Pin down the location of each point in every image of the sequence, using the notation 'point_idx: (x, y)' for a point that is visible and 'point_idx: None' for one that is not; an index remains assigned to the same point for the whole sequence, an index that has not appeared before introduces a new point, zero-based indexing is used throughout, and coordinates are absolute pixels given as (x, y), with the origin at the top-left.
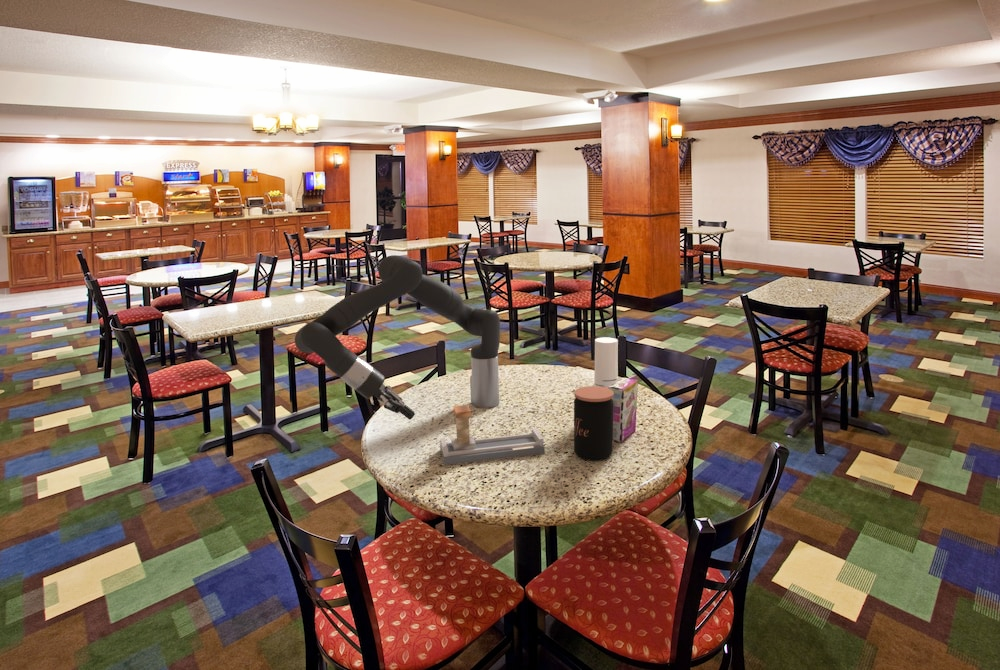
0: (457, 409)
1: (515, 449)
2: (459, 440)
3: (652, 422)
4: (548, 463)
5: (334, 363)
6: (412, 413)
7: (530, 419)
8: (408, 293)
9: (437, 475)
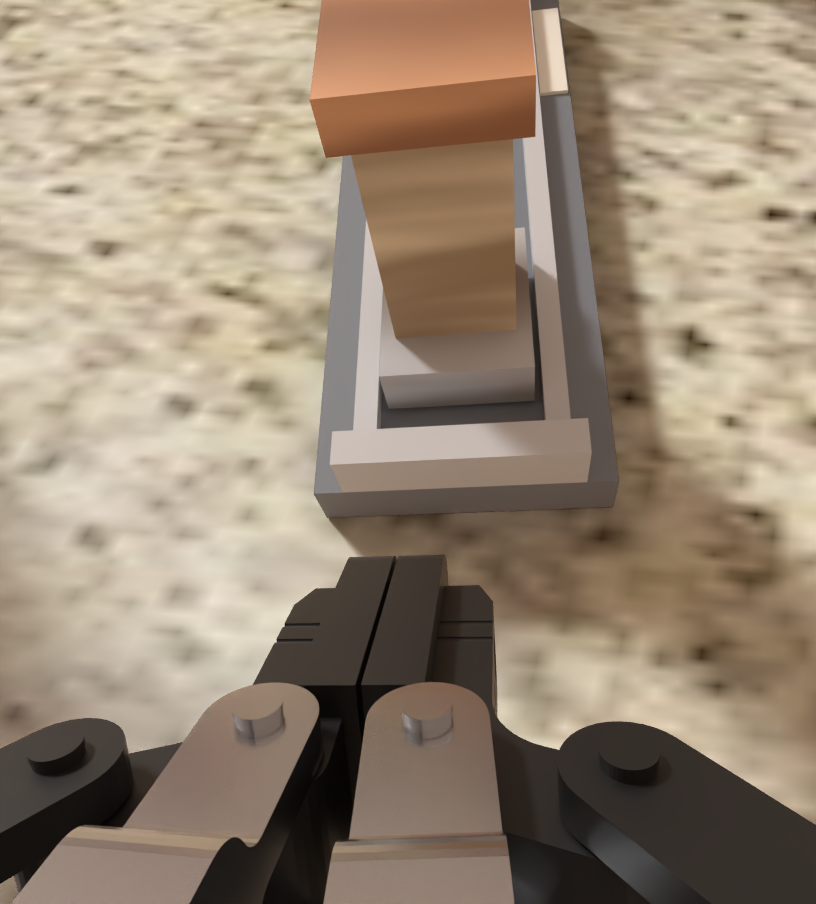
0: (431, 65)
1: (565, 79)
2: (514, 304)
3: None
4: (681, 8)
5: None
6: (442, 590)
7: (96, 36)
8: None
9: (793, 577)
